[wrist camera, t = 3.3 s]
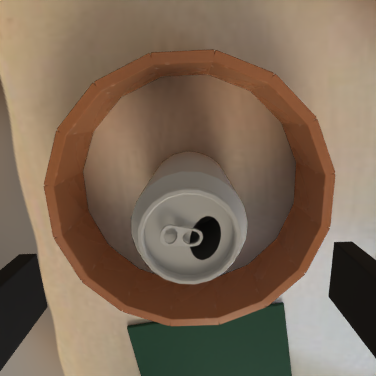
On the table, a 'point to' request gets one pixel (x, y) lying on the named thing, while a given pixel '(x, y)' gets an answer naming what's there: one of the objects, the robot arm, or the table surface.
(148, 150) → the table surface
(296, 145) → the brown wooden ring
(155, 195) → the can
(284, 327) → the felt mat
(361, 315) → the robot arm
